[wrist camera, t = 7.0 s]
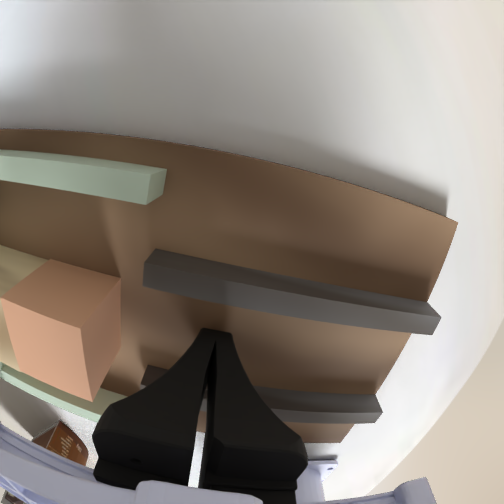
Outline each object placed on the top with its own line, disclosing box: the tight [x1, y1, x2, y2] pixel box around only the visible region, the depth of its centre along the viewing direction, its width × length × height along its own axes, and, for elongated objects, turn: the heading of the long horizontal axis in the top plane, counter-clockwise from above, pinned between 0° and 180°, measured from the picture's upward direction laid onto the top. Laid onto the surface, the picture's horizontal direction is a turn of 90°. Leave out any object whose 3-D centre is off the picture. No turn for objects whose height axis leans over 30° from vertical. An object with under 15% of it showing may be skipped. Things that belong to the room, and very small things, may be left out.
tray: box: [0, 149, 167, 423], centre depth 12 cm, size 14×11×2 cm
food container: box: [1, 421, 88, 504], centre depth 15 cm, size 12×6×10 cm, turn 130°
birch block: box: [0, 245, 48, 372], centre depth 11 cm, size 4×4×4 cm
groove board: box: [0, 129, 458, 443], centre depth 13 cm, size 16×24×2 cm, turn 77°
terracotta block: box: [0, 259, 121, 402], centre depth 11 cm, size 4×4×4 cm
